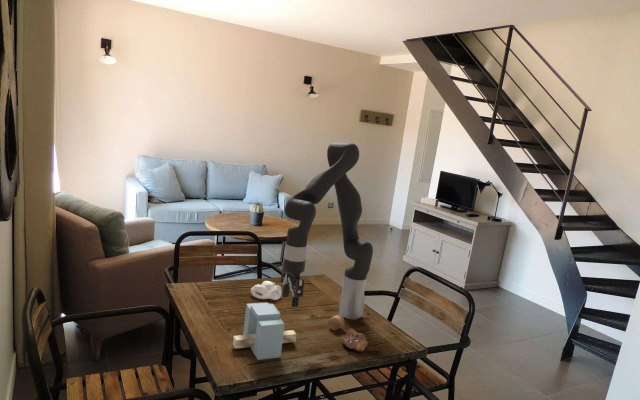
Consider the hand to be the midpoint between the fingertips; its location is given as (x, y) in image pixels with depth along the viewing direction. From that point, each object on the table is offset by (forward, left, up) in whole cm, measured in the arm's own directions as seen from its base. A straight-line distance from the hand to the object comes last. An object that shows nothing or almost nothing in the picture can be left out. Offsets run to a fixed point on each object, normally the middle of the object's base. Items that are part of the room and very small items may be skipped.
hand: (289, 301), depth 156 cm
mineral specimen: (-25, +7, -16) cm, 30 cm away
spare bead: (-24, -7, -16) cm, 30 cm away
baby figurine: (-7, -40, -16) cm, 43 cm away
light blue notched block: (+9, 0, -16) cm, 18 cm away
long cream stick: (+7, 0, -15) cm, 17 cm away
